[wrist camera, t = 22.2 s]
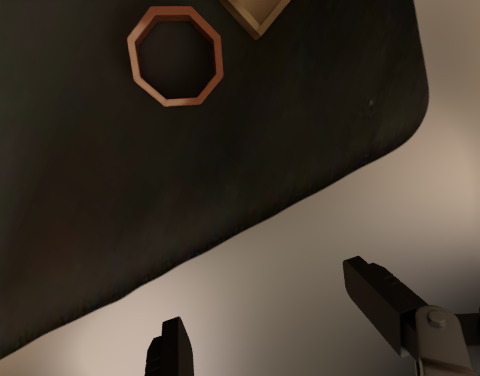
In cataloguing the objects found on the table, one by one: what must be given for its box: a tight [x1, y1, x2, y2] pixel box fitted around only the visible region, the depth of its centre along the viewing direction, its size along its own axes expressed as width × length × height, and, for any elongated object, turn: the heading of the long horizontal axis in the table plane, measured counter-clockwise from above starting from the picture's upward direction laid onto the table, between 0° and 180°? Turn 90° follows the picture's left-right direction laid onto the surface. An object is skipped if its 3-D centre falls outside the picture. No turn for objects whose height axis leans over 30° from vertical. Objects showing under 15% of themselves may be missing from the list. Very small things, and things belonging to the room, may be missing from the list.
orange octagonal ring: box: [127, 6, 223, 107], centre depth 33 cm, size 10×10×3 cm
